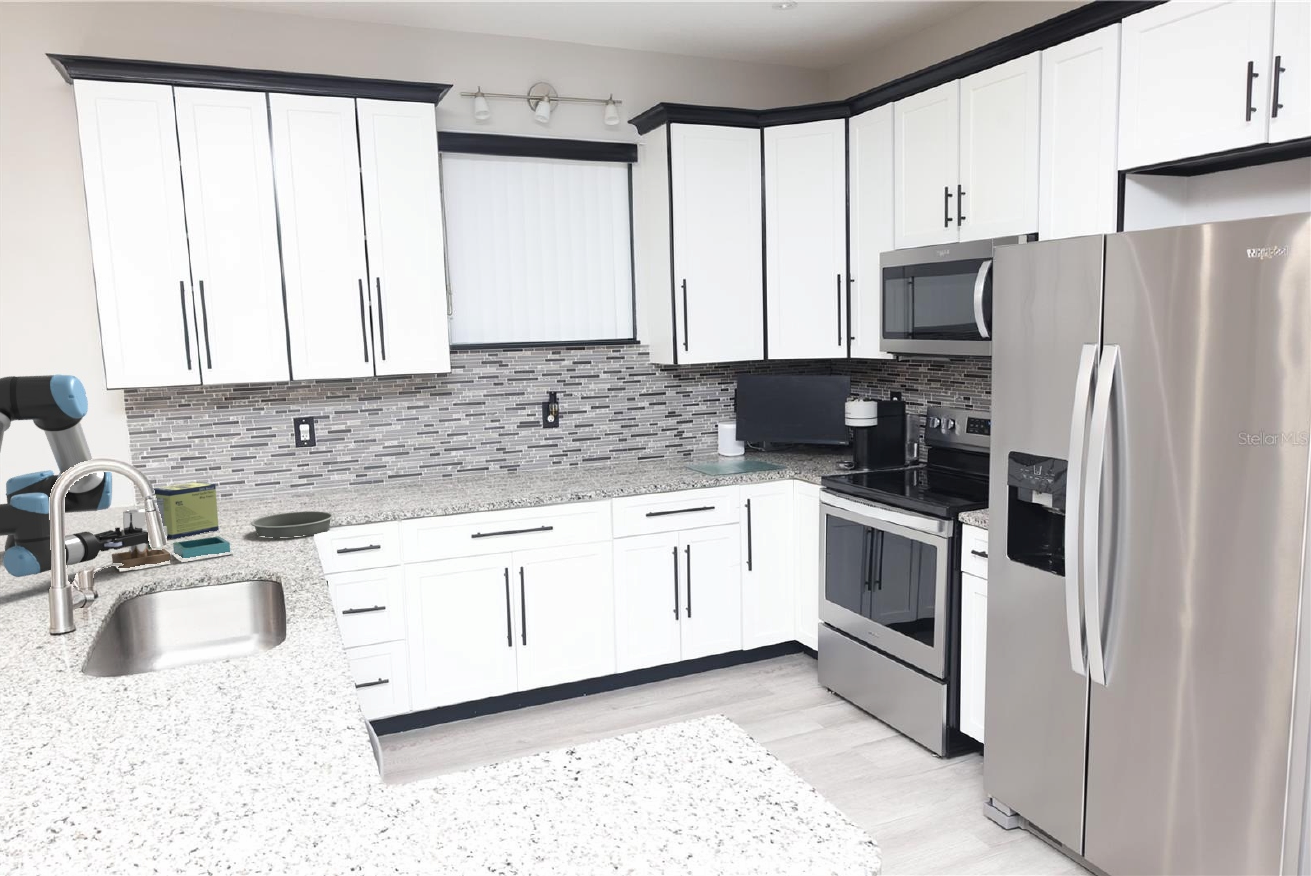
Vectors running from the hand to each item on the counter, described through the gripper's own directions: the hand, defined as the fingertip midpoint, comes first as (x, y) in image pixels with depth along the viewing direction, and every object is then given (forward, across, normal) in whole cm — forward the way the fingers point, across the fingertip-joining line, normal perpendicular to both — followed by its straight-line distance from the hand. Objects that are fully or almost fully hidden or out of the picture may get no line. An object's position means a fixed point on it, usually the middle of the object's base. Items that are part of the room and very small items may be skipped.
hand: (154, 530), depth 237 cm
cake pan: (+42, +10, -9) cm, 44 cm away
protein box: (+31, -23, -9) cm, 39 cm away
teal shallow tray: (+8, +8, -8) cm, 14 cm away
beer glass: (-5, 0, -9) cm, 10 cm away
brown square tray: (-5, 0, -8) cm, 10 cm away
